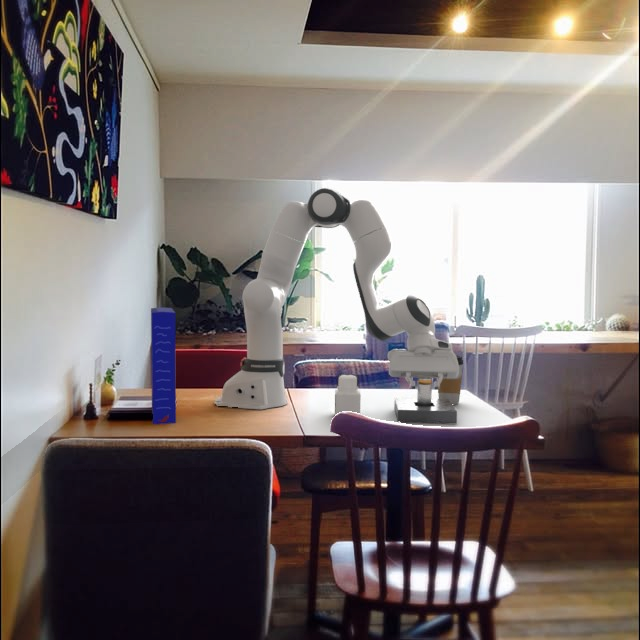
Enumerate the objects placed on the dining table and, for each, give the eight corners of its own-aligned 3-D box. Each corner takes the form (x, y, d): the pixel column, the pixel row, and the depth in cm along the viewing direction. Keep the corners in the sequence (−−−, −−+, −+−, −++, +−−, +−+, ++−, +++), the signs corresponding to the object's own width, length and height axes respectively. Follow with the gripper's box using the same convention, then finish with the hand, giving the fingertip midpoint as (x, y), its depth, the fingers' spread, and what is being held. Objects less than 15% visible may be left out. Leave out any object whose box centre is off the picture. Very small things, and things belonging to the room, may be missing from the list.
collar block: (397, 422, 167) (398, 409, 167) (394, 409, 183) (394, 398, 183) (456, 423, 166) (457, 411, 166) (448, 410, 182) (448, 399, 182)
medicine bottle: (334, 413, 178) (335, 372, 177) (359, 413, 178) (360, 372, 177) (334, 418, 171) (335, 376, 170) (360, 419, 171) (360, 376, 170)
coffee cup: (462, 406, 189) (464, 358, 188) (435, 404, 191) (436, 357, 190) (461, 400, 197) (463, 355, 196) (435, 399, 199) (436, 354, 198)
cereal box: (175, 422, 164) (175, 311, 162) (152, 424, 162) (152, 311, 160) (172, 406, 185) (171, 307, 182) (151, 407, 183) (151, 307, 181)
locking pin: (417, 417, 173) (418, 379, 172) (416, 414, 177) (416, 377, 176) (431, 418, 173) (432, 379, 172) (430, 414, 177) (431, 377, 176)
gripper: (387, 342, 181) (388, 380, 172) (457, 344, 180) (462, 382, 171) (386, 355, 186) (387, 393, 177) (454, 357, 184) (458, 395, 175)
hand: (424, 388), depth 174 cm, fingers open, 5 cm apart
